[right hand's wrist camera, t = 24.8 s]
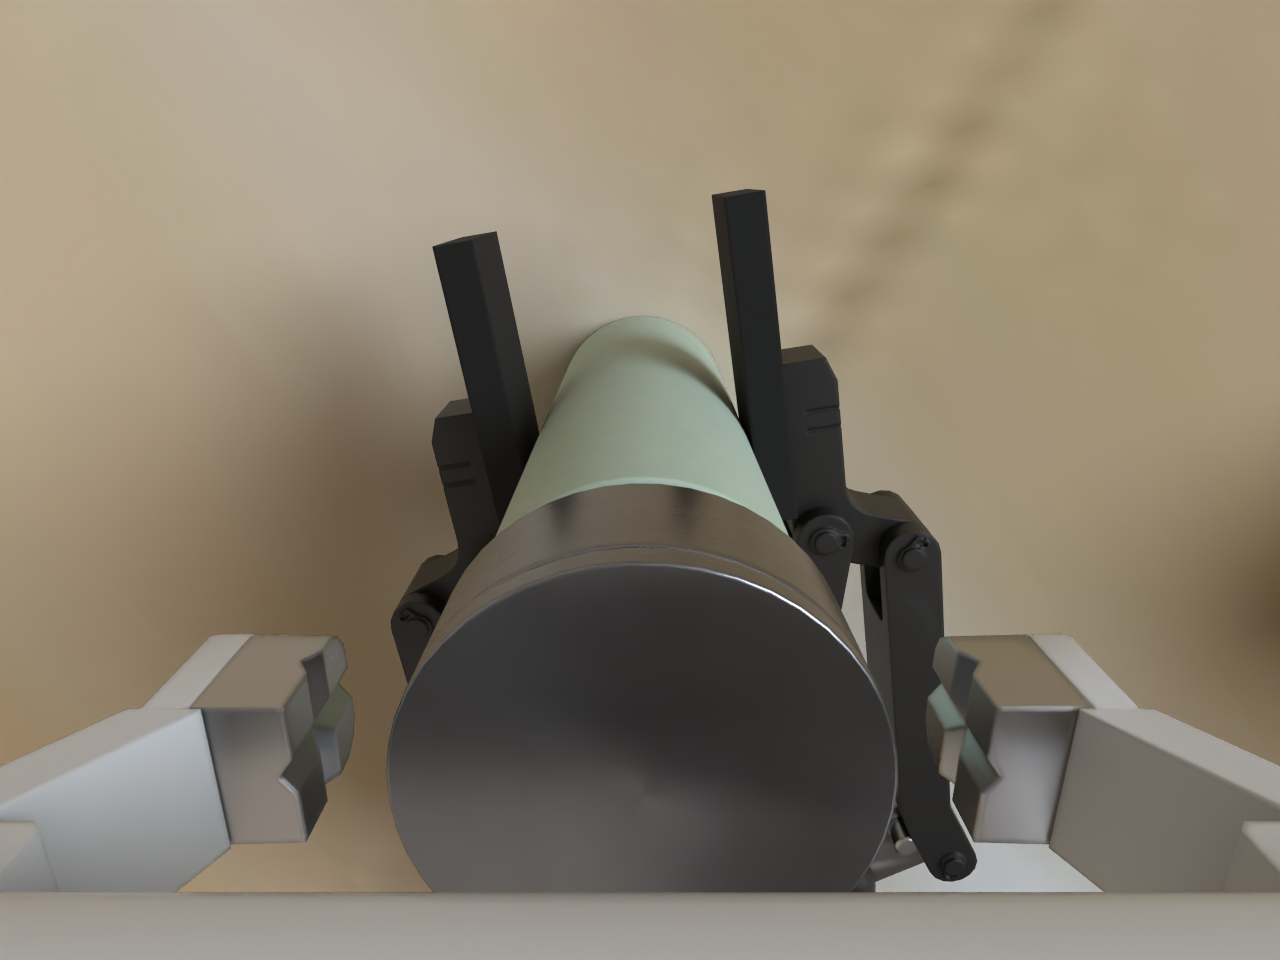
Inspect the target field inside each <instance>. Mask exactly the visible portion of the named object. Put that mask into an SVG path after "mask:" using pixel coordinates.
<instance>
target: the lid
mask: <svg viewBox="0 0 1280 960" xmlns="http://www.w3.org/2000/svg"><path fill="white" fill-rule="evenodd" d="M387 782H388V792H389V801H390V806H391V809H392V813H393V817H394V821H395V825H396V828H397V831H398V833H399V835H400V838H401V840H402V842H403V845H404V847H405V849H406V852H407V854H408V856H409V857H410V859H411V860H412V862H413V864H414V865H415V867H416V869H417V870H418V872H419V873H420V875H421V877H422V878H423V879H424V881H425V882H426V883H427V884H428V885H429V887H430V888H431V889H432V890H433V892H852V891H853V890H854V889H855V888H856V886H857V885H858V884H859V882H860V881H861V879H862V878H863V877H864V875H865V874H866V872H867V871H868V869H869V868H870V866H871V865H872V863H873V862H874V860H875V858H876V855H877V853H878V851H879V849H880V847H881V845H882V843H883V841H884V839H885V837H886V834H887V830H888V827H889V824H890V821H891V818H892V815H893V811H894V805H895V799H896V792H897V786H898V753H897V748H896V742H895V736H894V730H893V726H892V723H891V720H890V717H889V714H888V711H887V708H886V705H885V702H884V699H883V697H882V695H881V693H880V691H879V689H878V687H877V685H876V683H875V681H874V679H873V676H872V674H871V672H870V670H869V668H868V666H867V664H866V662H865V659H864V657H863V655H862V653H861V651H860V649H859V647H858V645H857V643H856V641H855V638H854V636H853V634H852V632H851V630H850V628H849V626H848V624H847V622H846V620H845V617H844V615H843V613H842V611H841V609H840V607H839V605H838V603H837V601H836V599H835V597H834V595H833V593H832V591H831V589H830V587H829V585H828V583H827V582H826V580H825V578H824V576H823V575H822V573H821V572H820V571H819V569H818V568H817V567H816V565H815V564H814V563H813V561H812V560H811V558H810V557H809V556H808V555H807V554H806V553H805V552H804V551H803V550H802V549H801V548H800V547H799V546H798V545H797V544H796V543H795V542H794V540H793V539H792V538H791V537H789V536H788V535H787V534H785V533H784V532H783V531H782V530H780V529H779V528H778V527H776V526H775V525H774V524H773V523H771V522H770V521H769V520H767V519H765V518H763V517H762V516H760V515H758V514H756V513H755V512H753V511H751V510H750V509H748V508H746V507H744V506H742V505H739V504H737V503H735V502H732V501H730V500H727V499H725V498H723V497H720V496H717V495H714V494H710V493H706V492H703V491H699V490H695V489H692V488H686V487H679V486H672V485H665V484H636V483H631V484H622V485H612V486H603V487H599V488H594V489H590V490H586V491H581V492H577V493H573V494H571V495H568V496H565V497H563V498H560V499H557V500H555V501H552V502H549V503H547V504H545V505H543V506H541V507H539V508H537V509H535V510H534V511H532V512H530V513H528V514H526V515H524V516H522V517H521V518H520V519H518V520H517V521H515V522H514V523H512V524H511V525H510V526H508V527H507V528H505V529H504V530H503V531H501V532H500V533H499V534H498V535H497V536H496V537H495V538H494V539H493V540H491V541H490V542H489V543H488V544H487V545H486V546H485V547H484V548H483V549H482V550H481V551H480V552H479V554H478V555H477V556H476V557H475V558H474V560H473V561H472V562H471V563H470V565H469V566H468V567H467V568H466V570H465V571H464V573H463V575H462V576H461V578H460V580H459V581H458V583H457V585H456V587H455V588H454V590H453V592H452V594H451V596H450V598H449V600H448V602H447V604H446V606H445V608H444V610H443V613H442V615H441V617H440V619H439V621H438V623H437V625H436V627H435V629H434V631H433V633H432V636H431V638H430V640H429V642H428V644H427V646H426V648H425V650H424V652H423V654H422V656H421V659H420V661H419V663H418V665H417V667H416V669H415V672H414V674H413V675H412V677H411V680H410V682H409V684H408V686H407V688H406V690H405V692H404V695H403V697H402V700H401V702H400V705H399V707H398V710H397V712H396V715H395V717H394V722H393V726H392V731H391V735H390V740H389V744H388V757H387Z"/></svg>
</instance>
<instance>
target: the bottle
mask: <svg viewBox="0 0 1280 960" xmlns="http://www.w3.org/2000/svg"><path fill="white" fill-rule="evenodd" d="M631 483H636V484H665V485H672V486H679V487H686V488H692V489H695V490H699V491H703V492H706V493H710V494H714V495H717V496H720V497H723V498H725V499H727V500H730V501H732V502H735V503H737V504H739V505H742V506H744V507H746V508H748V509H750V510H751V511H753V512H755V513H756V514H758V515H760V516H762V517H763V518H765V519H767V520H769V521H770V522H771V523H773V524H774V525H775V526H776V527H778V528H779V529H780V530H782V531H783V532H784V533H785V534H787V535H788V533H787V530H786V528H785V526H784V523H783V521H782V519H781V516H780V514H779V512H778V509H777V507H776V505H775V502H774V500H773V498H772V495H771V493H770V491H769V488H768V486H767V484H766V481H765V479H764V477H763V474H762V472H761V470H760V467H759V465H758V462H757V460H756V458H755V455H754V453H753V451H752V448H751V446H750V444H749V441H748V439H747V437H746V434H745V432H744V430H743V427H742V425H741V423H740V420H739V418H738V416H737V413H736V411H735V409H734V406H733V404H732V402H731V399H730V397H729V395H728V392H727V390H726V387H725V385H724V383H723V380H722V378H721V376H720V373H719V371H718V369H717V366H716V364H715V362H714V360H713V358H712V356H711V354H710V353H709V351H708V350H707V348H706V347H705V346H704V345H703V343H702V342H701V341H700V340H699V339H698V338H697V337H696V336H695V335H693V334H692V333H691V332H689V331H688V330H687V329H685V328H683V327H681V326H680V325H678V324H676V323H673V322H671V321H668V320H665V319H661V318H656V317H648V316H640V317H630V318H624V319H621V320H617V321H614V322H612V323H610V324H607V325H605V326H604V327H602V328H600V329H599V330H597V331H596V332H594V333H593V334H592V335H591V336H589V337H588V338H587V339H586V340H585V341H584V342H583V343H582V345H581V346H580V347H579V349H578V350H577V351H576V353H575V354H574V356H573V358H572V360H571V362H570V364H569V366H568V369H567V371H566V373H565V376H564V378H563V380H562V383H561V385H560V387H559V390H558V392H557V394H556V397H555V399H554V401H553V404H552V406H551V408H550V411H549V413H548V415H547V418H546V420H545V422H544V425H543V427H542V429H541V432H540V434H539V436H538V439H537V441H536V443H535V446H534V448H533V450H532V453H531V455H530V457H529V460H528V462H527V464H526V467H525V469H524V471H523V474H522V476H521V478H520V481H519V483H518V485H517V488H516V490H515V492H514V495H513V497H512V499H511V502H510V504H509V506H508V509H507V511H506V513H505V516H504V518H503V520H502V523H501V525H500V527H499V530H498V532H497V534H496V536H497V535H498V534H499V533H500V532H501V531H503V530H504V529H505V528H507V527H508V526H510V525H511V524H512V523H514V522H515V521H517V520H518V519H520V518H521V517H522V516H524V515H526V514H528V513H530V512H532V511H534V510H535V509H537V508H539V507H541V506H543V505H545V504H547V503H549V502H552V501H555V500H557V499H560V498H563V497H565V496H568V495H571V494H573V493H577V492H581V491H586V490H590V489H594V488H599V487H603V486H612V485H622V484H631ZM788 536H789V535H788Z"/></svg>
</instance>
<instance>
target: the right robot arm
mask: <svg viewBox="0 0 1280 960" xmlns="http://www.w3.org/2000/svg"><path fill="white" fill-rule="evenodd" d="M347 667H348V666H347V660H346V654H345V649H344V644H343V642H342V641H341V640H340V639H339V638H338V636H322V635H271V634H259V635H256V634H219V635H214V636H210V637H209V638H208V639H207V640H206V641H205V642H204V643H203V644H202V645H201V646H200V647H199V648H198V649H197V650H196V651H195V653H194V654H193V655H192V656H191V657H190V658H189V659H188V660H187V661H186V662H185V663H184V664H183V665H182V666H181V667H180V668H179V669H178V670H177V671H176V672H175V673H174V674H173V675H172V677H171V678H170V679H169V680H168V681H167V682H166V683H165V684H164V685H163V686H162V687H161V688H160V689H159V690H158V691H157V692H156V693H155V694H154V695H153V696H152V697H151V698H150V699H149V701H148V702H147V703H146V704H145V705H144V706H143V707H142V708H141V709H126V710H123V711H121V712H119V713H117V714H114V715H112V716H110V717H108V718H106V719H103V720H101V721H99V722H97V723H94V724H92V725H90V726H88V727H86V728H83V729H81V730H79V731H77V732H75V733H72V734H70V735H68V736H66V737H63V738H61V739H59V740H57V741H55V742H52V743H50V744H48V745H46V746H43V747H41V748H39V749H37V750H35V751H32V752H30V753H28V754H26V755H23V756H21V757H19V758H17V759H15V760H12V761H10V762H8V763H6V764H4V765H1V766H0V960H1280V766H1278V765H1276V764H1274V763H1272V762H1270V761H1267V760H1265V759H1263V758H1261V757H1258V756H1256V755H1254V754H1252V753H1250V752H1247V751H1245V750H1243V749H1241V748H1239V747H1236V746H1234V745H1232V744H1230V743H1227V742H1225V741H1223V740H1221V739H1219V738H1216V737H1214V736H1212V735H1210V734H1208V733H1205V732H1203V731H1201V730H1199V729H1197V728H1194V727H1192V726H1190V725H1188V724H1185V723H1183V722H1181V721H1179V720H1177V719H1174V718H1172V717H1170V716H1168V715H1166V714H1163V713H1161V712H1159V711H1157V710H1154V709H1139V708H1138V707H1137V706H1136V705H1135V704H1134V703H1133V701H1132V700H1131V699H1130V698H1129V697H1128V696H1127V695H1126V694H1125V693H1124V692H1123V691H1122V690H1121V689H1120V688H1119V687H1118V686H1117V685H1116V684H1115V683H1114V682H1113V681H1112V680H1111V679H1110V677H1109V676H1108V675H1107V674H1106V673H1105V672H1104V671H1103V670H1102V669H1101V668H1100V667H1099V666H1098V665H1097V664H1096V663H1095V662H1094V661H1093V660H1092V659H1091V658H1090V657H1089V656H1088V654H1087V653H1086V652H1085V651H1084V650H1083V649H1082V648H1081V647H1080V646H1079V645H1078V644H1077V643H1076V642H1075V641H1074V640H1073V639H1072V638H1071V637H1069V636H1067V635H1064V634H1061V633H1057V634H1032V635H992V636H951V637H940V639H939V641H938V643H937V646H936V648H935V653H934V659H933V665H932V667H933V669H934V671H935V672H936V674H937V676H938V677H939V679H940V681H941V682H942V683H941V684H940V685H939V686H938V687H937V688H936V689H935V690H934V691H933V692H932V694H931V695H930V696H929V697H928V701H927V710H926V719H925V722H926V734H927V743H928V747H929V750H930V754H931V757H932V760H933V762H934V764H935V766H936V768H937V770H938V773H939V774H940V775H942V776H943V777H945V778H946V779H948V780H949V781H951V782H952V783H954V784H955V786H954V793H953V799H952V800H953V802H954V804H955V806H956V808H957V810H958V812H959V814H960V816H961V818H962V820H963V822H964V824H965V826H966V827H967V829H968V831H969V833H970V835H971V837H972V839H973V841H974V842H986V843H1022V844H1050V845H1049V848H1050V849H1051V850H1053V851H1054V852H1055V853H1056V854H1057V855H1059V856H1060V857H1061V858H1062V859H1064V860H1065V861H1066V862H1067V863H1069V864H1070V865H1071V866H1072V867H1074V868H1075V869H1076V870H1077V871H1079V872H1080V873H1081V874H1082V875H1084V876H1085V877H1086V878H1087V879H1089V880H1090V881H1091V882H1092V883H1094V884H1095V885H1096V886H1097V887H1099V888H1100V889H1101V890H1102V891H1104V892H177V891H178V890H179V889H180V888H182V887H183V886H184V885H185V884H187V883H188V882H189V881H190V880H192V879H193V878H194V877H195V876H197V875H198V874H199V873H200V872H202V871H203V870H204V869H205V868H207V867H208V866H209V865H210V864H212V863H213V862H214V861H215V860H217V859H218V858H219V857H220V856H222V855H223V854H224V853H225V852H227V851H228V850H229V849H230V848H231V845H230V844H257V843H292V842H306V841H307V839H308V837H309V835H310V833H311V831H312V830H313V828H314V826H315V824H316V822H317V820H318V818H319V816H320V814H321V812H322V810H323V808H324V806H325V804H326V802H327V800H328V799H327V793H326V786H325V784H326V783H328V782H329V781H331V780H332V779H334V778H335V777H337V776H338V775H340V774H341V773H342V770H343V768H344V766H345V764H346V762H347V760H348V758H349V755H350V750H351V745H352V741H353V736H354V708H353V700H352V697H351V696H350V695H349V694H348V692H347V691H346V690H345V689H344V688H343V687H342V686H341V685H340V684H339V683H338V682H339V681H340V679H341V677H342V676H343V674H344V672H345V671H346V669H347Z"/></svg>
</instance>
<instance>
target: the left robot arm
mask: <svg viewBox="0 0 1280 960" xmlns="http://www.w3.org/2000/svg"><path fill="white" fill-rule="evenodd" d="M712 202H713V210H714V218H715V226H716V234H717V243H718V251H719V259H720V267H721V275H722V283H723V292H724V300H725V308H726V316H727V324H728V333H729V341H730V349H731V357H732V365H733V373H734V382H735V390H736V398H737V406H738V414H739V420H740V423H741V425H742V427H743V430H744V432H745V434H746V437H747V439H748V441H749V444H750V446H751V448H752V451H753V453H754V455H755V458H756V460H757V462H758V465H759V467H760V470H761V472H762V474H763V477H764V479H765V481H766V484H767V486H768V488H769V491H770V493H771V495H772V498H773V500H774V502H775V505H776V507H777V509H778V512H779V514H780V516H781V519H782V521H783V523H784V526H785V528H786V530H787V533H788V535H789V537H791V538H792V539H793V540H794V542H795V543H796V544H797V545H798V546H799V547H800V548H801V549H802V550H803V551H804V552H805V553H806V554H807V555H808V556H809V557H810V558H811V560H812V561H813V563H814V564H815V565H816V567H817V568H818V569H819V571H820V572H821V573H822V575H823V576H824V578H825V580H826V582H827V583H828V585H829V587H830V589H831V591H832V593H833V595H834V597H835V599H836V601H837V603H838V605H839V607H840V609H842V604H843V598H844V593H845V588H846V582H847V577H848V572H849V566H850V563H855V564H860V571H861V585H862V598H863V611H864V625H865V638H866V651H867V665H868V668H869V670H870V672H871V674H872V676H873V679H874V681H875V683H876V685H877V687H878V689H879V691H880V693H881V695H882V697H883V699H884V702H885V705H886V708H887V711H888V714H889V717H890V720H891V723H892V726H893V730H894V736H895V742H896V748H897V753H898V786H897V792H896V799H895V805H894V811H893V815H892V818H891V821H890V824H889V827H888V830H887V834H886V837H885V839H884V841H883V843H882V845H881V847H880V849H879V851H878V853H877V855H876V858H875V860H874V862H873V863H872V865H871V866H870V868H869V869H868V871H867V872H866V874H865V875H864V877H863V878H862V879H861V881H860V882H859V884H858V885H857V886H856V888H855V889H854V890H853V891H852V892H875V882H876V881H879V880H881V879H884V878H886V877H889V876H891V875H894V874H896V873H898V872H901V871H903V870H906V869H908V868H911V867H913V866H916V865H918V864H921V863H923V862H925V864H926V866H927V867H928V869H929V871H930V873H931V874H932V875H933V876H934V877H935V878H937V879H940V880H942V881H951V882H953V881H957V880H961V879H963V878H965V877H966V876H968V875H970V874H971V872H972V871H973V870H974V869H975V866H976V863H977V859H976V854H975V852H974V850H973V848H972V846H971V844H970V842H969V840H968V838H967V836H966V834H965V832H964V830H963V828H962V826H961V824H960V822H959V820H958V818H957V816H956V814H955V812H954V810H953V808H952V806H951V804H950V784H949V780H948V779H946V778H945V777H943V776H942V775H940V774H939V773H938V770H937V768H936V766H935V764H934V762H933V760H932V757H931V754H930V750H929V747H928V743H927V734H926V722H925V719H926V710H927V701H928V697H929V696H930V695H931V694H932V692H933V691H934V690H935V689H936V688H937V687H938V686H939V685H940V684H941V683H942V682H941V681H940V679H939V677H938V676H937V674H936V672H935V671H934V669H933V667H932V665H933V659H934V653H935V648H936V646H937V643H938V641H939V639H940V637H944V620H943V593H942V566H941V551H940V547H939V543H938V542H937V541H936V540H935V538H934V537H933V536H932V535H931V533H930V532H929V531H928V529H927V528H926V527H925V526H924V525H923V523H922V522H921V521H920V520H919V518H918V517H917V516H916V515H915V514H914V512H913V511H912V510H911V509H910V508H909V506H908V505H907V504H906V503H905V502H904V501H903V500H902V498H901V497H900V496H899V495H898V494H896V493H893V492H891V491H881V490H880V491H877V492H874V493H871V494H869V493H863V492H858V491H854V490H851V489H848V488H847V487H846V483H845V470H844V457H843V445H842V432H841V419H840V409H839V393H838V380H837V378H836V377H835V375H834V373H833V371H832V369H831V367H830V365H829V363H828V361H827V359H826V358H825V357H824V356H823V355H822V354H821V353H820V352H819V351H818V350H817V349H816V348H815V347H814V346H813V345H807V346H801V347H794V348H788V349H781V343H780V333H779V323H778V313H777V303H776V293H775V283H774V273H773V263H772V253H771V244H770V234H769V224H768V214H767V204H766V194H765V190H753V189H744V190H738V191H732V192H726V193H721V194H715V195H712ZM433 251H434V256H435V260H436V264H437V268H438V272H439V276H440V281H441V285H442V289H443V293H444V297H445V301H446V306H447V310H448V314H449V318H450V322H451V326H452V331H453V335H454V339H455V343H456V347H457V351H458V356H459V360H460V364H461V368H462V372H463V376H464V381H465V385H466V389H467V393H468V397H469V399H462V400H456V401H450V402H449V403H448V404H447V406H446V407H445V408H444V409H443V410H442V411H441V413H440V414H439V415H438V416H437V417H436V418H435V424H434V431H433V438H432V446H433V449H434V453H435V457H436V461H437V465H438V467H439V472H440V476H441V480H442V484H443V485H444V492H445V495H446V499H447V503H448V507H449V511H450V515H451V518H452V522H453V526H454V530H455V534H456V538H457V541H458V549H456V550H454V551H452V552H451V553H449V554H447V555H436V556H433V557H430V558H428V559H427V560H426V561H424V562H423V563H422V565H421V566H420V568H419V570H418V572H417V573H416V575H415V577H414V578H413V580H412V582H411V584H410V585H409V587H408V589H407V591H406V592H405V594H404V596H403V598H402V599H401V601H400V603H399V605H398V606H397V608H396V610H395V612H394V614H393V617H392V619H391V629H392V633H393V636H394V640H395V643H396V646H397V650H398V653H399V656H400V659H401V663H402V666H403V669H404V673H405V676H406V679H407V683H408V684H409V682H410V680H411V677H412V675H413V674H414V672H415V669H416V667H417V665H418V663H419V661H420V659H421V656H422V654H423V652H424V650H425V648H426V646H427V644H428V642H429V640H430V638H431V636H432V633H433V631H434V629H435V627H436V625H437V623H438V621H439V619H440V617H441V615H442V613H443V610H444V608H445V606H446V604H447V602H448V600H449V598H450V596H451V594H452V592H453V590H454V588H455V587H456V585H457V583H458V581H459V580H460V578H461V576H462V575H463V573H464V571H465V570H466V568H467V567H468V566H469V565H470V563H471V562H472V561H473V560H474V558H475V557H476V556H477V555H478V554H479V552H480V551H481V550H482V549H483V548H484V547H485V546H486V545H487V544H488V543H489V542H490V541H491V540H493V539H494V538H495V537H496V534H497V532H498V530H499V527H500V525H501V523H502V520H503V518H504V516H505V513H506V511H507V509H508V506H509V504H510V502H511V499H512V497H513V495H514V492H515V490H516V488H517V485H518V483H519V481H520V478H521V476H522V474H523V471H524V469H525V467H526V464H527V462H528V460H529V457H530V455H531V453H532V450H533V448H534V446H535V443H536V441H537V439H538V436H539V430H538V425H537V420H536V415H535V411H534V406H533V401H532V397H531V392H530V387H529V383H528V378H527V373H526V368H525V364H524V359H523V354H522V350H521V345H520V340H519V335H518V331H517V326H516V321H515V317H514V312H513V307H512V302H511V298H510V293H509V288H508V284H507V279H506V274H505V269H504V265H503V260H502V255H501V251H500V246H499V241H498V237H497V232H490V233H484V234H478V235H473V236H467V237H462V238H458V239H455V240H452V241H449V242H446V243H443V244H439V245H436V246H433Z"/></svg>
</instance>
